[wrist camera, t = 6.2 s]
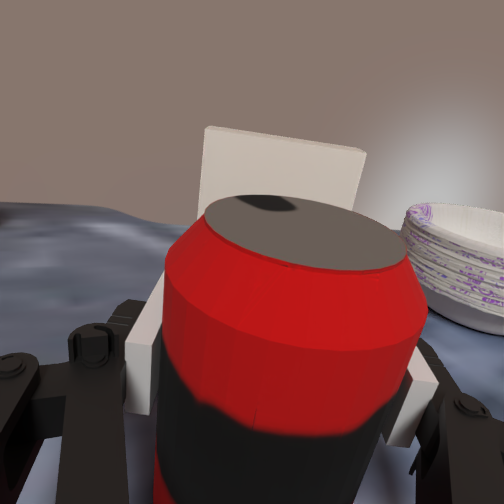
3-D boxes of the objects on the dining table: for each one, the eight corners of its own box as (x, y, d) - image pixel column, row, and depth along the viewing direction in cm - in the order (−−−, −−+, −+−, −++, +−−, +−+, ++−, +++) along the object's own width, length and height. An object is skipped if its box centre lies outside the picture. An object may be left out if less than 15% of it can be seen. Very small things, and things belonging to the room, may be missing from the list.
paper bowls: (364, 260, 40) (384, 190, 37) (494, 277, 41) (525, 210, 38) (425, 351, 26) (467, 251, 23) (620, 373, 27) (686, 280, 24)
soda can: (271, 400, 20) (318, 186, 15) (377, 539, 14) (506, 267, 9) (130, 453, 16) (133, 187, 11) (198, 674, 10) (263, 326, 6)
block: (316, 342, 25) (366, 153, 20) (188, 324, 25) (205, 128, 20) (312, 323, 27) (357, 147, 22) (193, 307, 27) (210, 125, 22)
